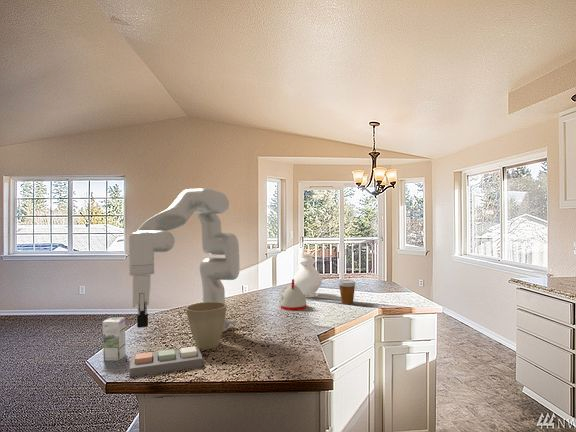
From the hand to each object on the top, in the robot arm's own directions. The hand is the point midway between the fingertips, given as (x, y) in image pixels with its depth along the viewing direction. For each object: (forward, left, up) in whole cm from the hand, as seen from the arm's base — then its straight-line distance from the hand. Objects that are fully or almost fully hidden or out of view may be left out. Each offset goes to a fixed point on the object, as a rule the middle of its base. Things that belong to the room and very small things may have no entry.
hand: (142, 326), depth 125 cm
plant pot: (-22, -14, -15) cm, 30 cm away
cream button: (-14, 0, -12) cm, 19 cm away
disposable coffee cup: (-105, -59, -15) cm, 122 cm away
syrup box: (+10, -14, -15) cm, 23 cm away
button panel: (-7, 0, -15) cm, 16 cm away
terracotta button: (0, 0, -12) cm, 12 cm away
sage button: (-7, 0, -12) cm, 14 cm away
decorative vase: (-93, -88, -15) cm, 129 cm away
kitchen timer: (-74, -62, -15) cm, 98 cm away
